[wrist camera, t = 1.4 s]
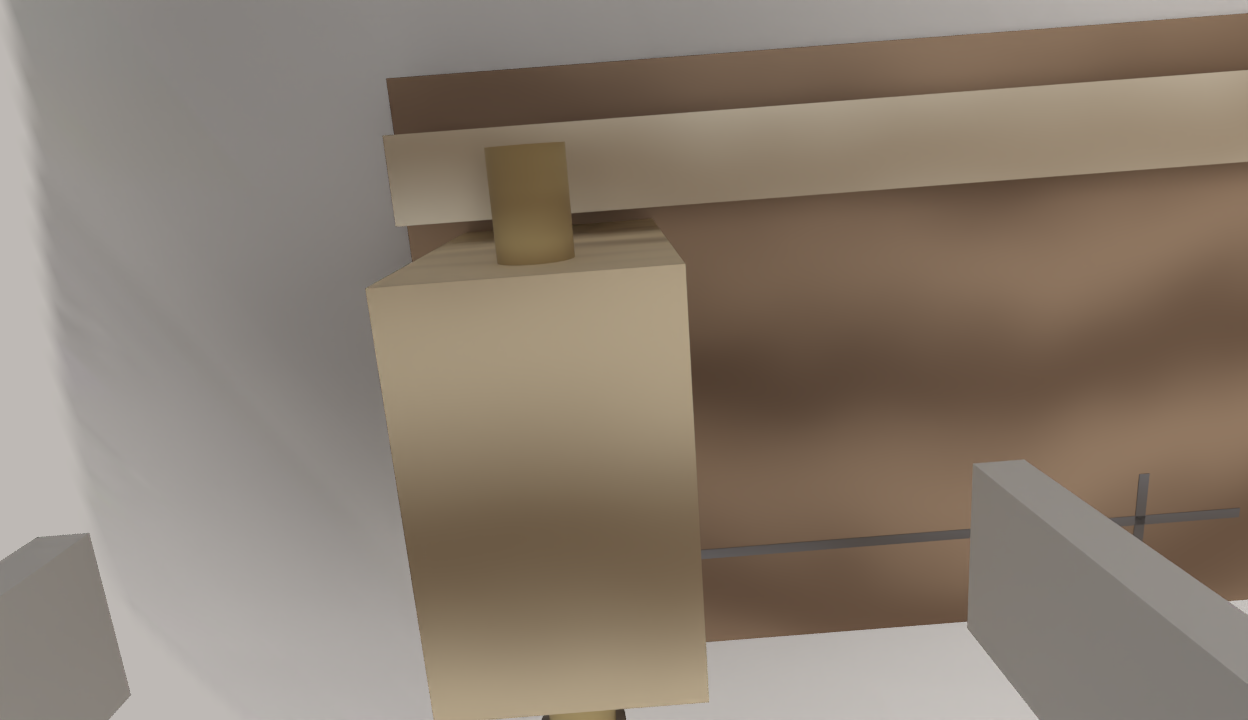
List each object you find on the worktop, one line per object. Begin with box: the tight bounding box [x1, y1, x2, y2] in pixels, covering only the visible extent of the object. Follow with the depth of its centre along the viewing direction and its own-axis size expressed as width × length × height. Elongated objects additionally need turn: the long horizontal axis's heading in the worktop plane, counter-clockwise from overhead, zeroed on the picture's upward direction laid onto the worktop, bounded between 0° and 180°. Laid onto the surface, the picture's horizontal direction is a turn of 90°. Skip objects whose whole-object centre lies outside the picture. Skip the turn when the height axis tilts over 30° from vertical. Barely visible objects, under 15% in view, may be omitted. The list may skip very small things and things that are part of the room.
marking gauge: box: [365, 142, 709, 720], centre depth 18 cm, size 12×5×9 cm, turn 4°
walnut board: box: [382, 13, 1248, 642], centre depth 22 cm, size 17×25×5 cm
